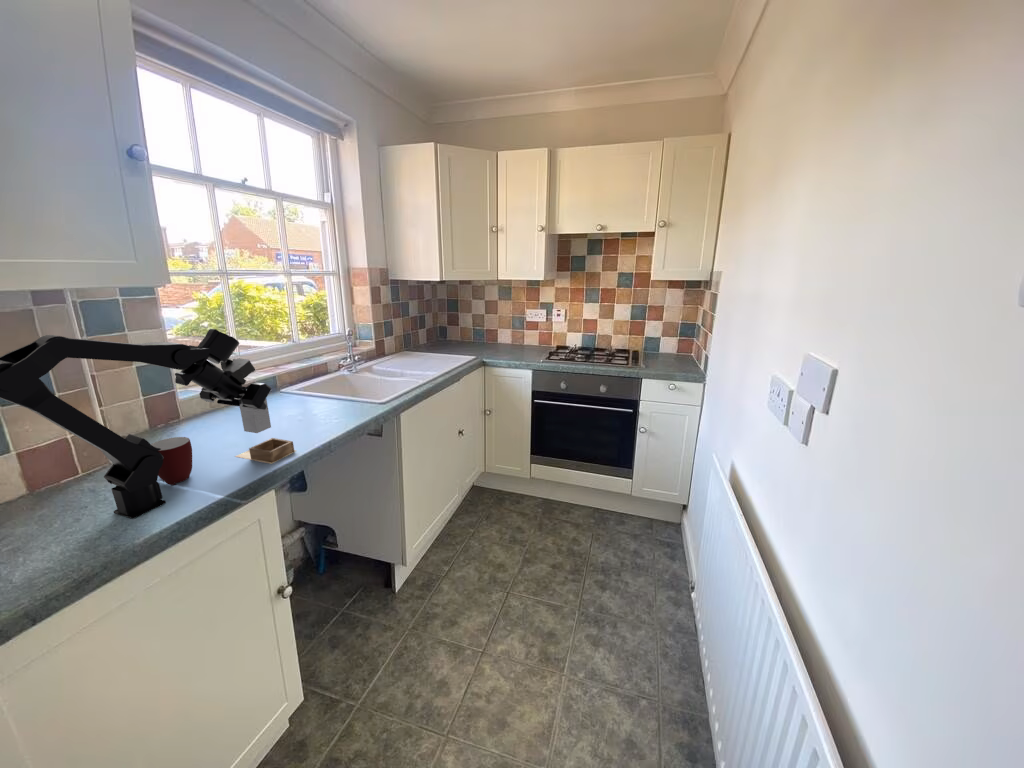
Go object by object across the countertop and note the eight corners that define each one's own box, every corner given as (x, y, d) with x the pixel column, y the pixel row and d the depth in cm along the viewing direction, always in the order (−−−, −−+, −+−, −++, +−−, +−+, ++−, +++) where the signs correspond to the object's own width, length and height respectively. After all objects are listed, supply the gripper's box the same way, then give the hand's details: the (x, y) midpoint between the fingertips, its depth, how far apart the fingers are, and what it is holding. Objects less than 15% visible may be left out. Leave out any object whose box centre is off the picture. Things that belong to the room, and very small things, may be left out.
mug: (146, 481, 100) (136, 443, 97) (185, 467, 107) (176, 432, 104) (165, 493, 95) (154, 454, 92) (204, 478, 101) (196, 441, 98)
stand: (271, 465, 108) (269, 453, 107) (235, 458, 112) (232, 446, 111) (297, 452, 115) (295, 440, 114) (262, 446, 119) (260, 434, 118)
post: (257, 433, 110) (250, 394, 107) (244, 431, 111) (237, 392, 108) (271, 427, 114) (264, 389, 111) (258, 425, 115) (252, 388, 112)
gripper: (258, 353, 100) (299, 384, 113) (201, 348, 105) (247, 379, 118) (234, 392, 95) (280, 421, 108) (176, 385, 100) (227, 413, 113)
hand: (258, 407), depth 112 cm, fingers closed on post, 4 cm apart
